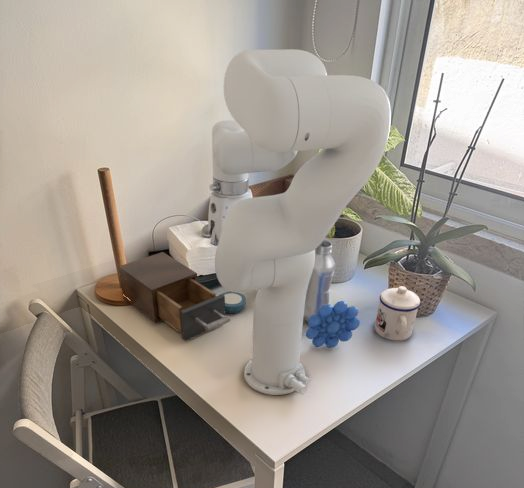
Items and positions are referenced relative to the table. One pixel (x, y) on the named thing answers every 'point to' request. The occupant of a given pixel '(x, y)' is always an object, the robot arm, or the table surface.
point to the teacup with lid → (396, 313)
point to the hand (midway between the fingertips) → (230, 262)
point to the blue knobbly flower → (332, 324)
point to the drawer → (191, 308)
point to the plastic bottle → (319, 280)
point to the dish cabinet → (151, 281)
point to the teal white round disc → (234, 301)
